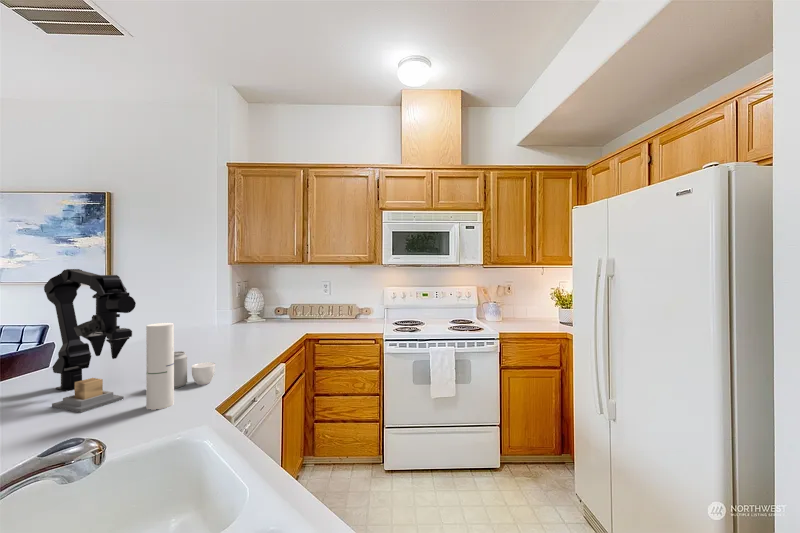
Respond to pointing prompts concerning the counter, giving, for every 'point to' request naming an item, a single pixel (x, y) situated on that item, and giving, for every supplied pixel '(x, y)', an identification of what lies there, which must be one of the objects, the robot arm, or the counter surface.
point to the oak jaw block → (88, 388)
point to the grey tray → (87, 402)
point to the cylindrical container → (159, 365)
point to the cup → (203, 373)
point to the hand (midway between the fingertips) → (105, 357)
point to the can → (180, 369)
